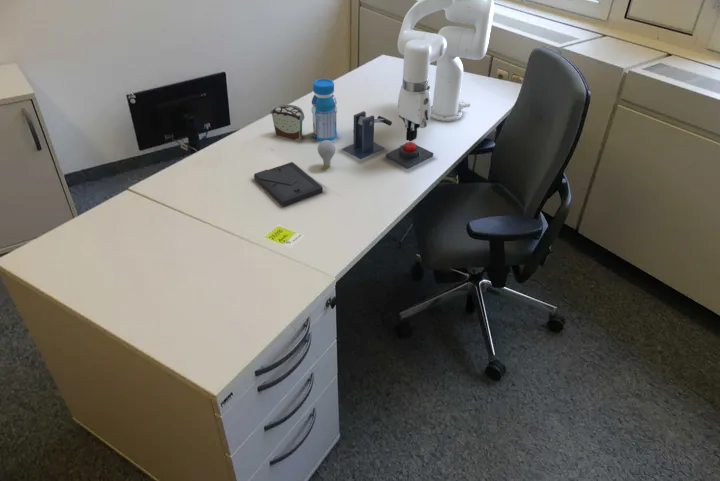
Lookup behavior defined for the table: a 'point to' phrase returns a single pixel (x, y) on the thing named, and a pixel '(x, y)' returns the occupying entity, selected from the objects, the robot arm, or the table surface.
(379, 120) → the switch lever
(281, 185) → the picture frame
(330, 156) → the light bulb
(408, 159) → the button housing
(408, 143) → the stop button
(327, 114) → the beverage bottle
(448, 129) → the table surface
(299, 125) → the food container
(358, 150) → the switch bracket
